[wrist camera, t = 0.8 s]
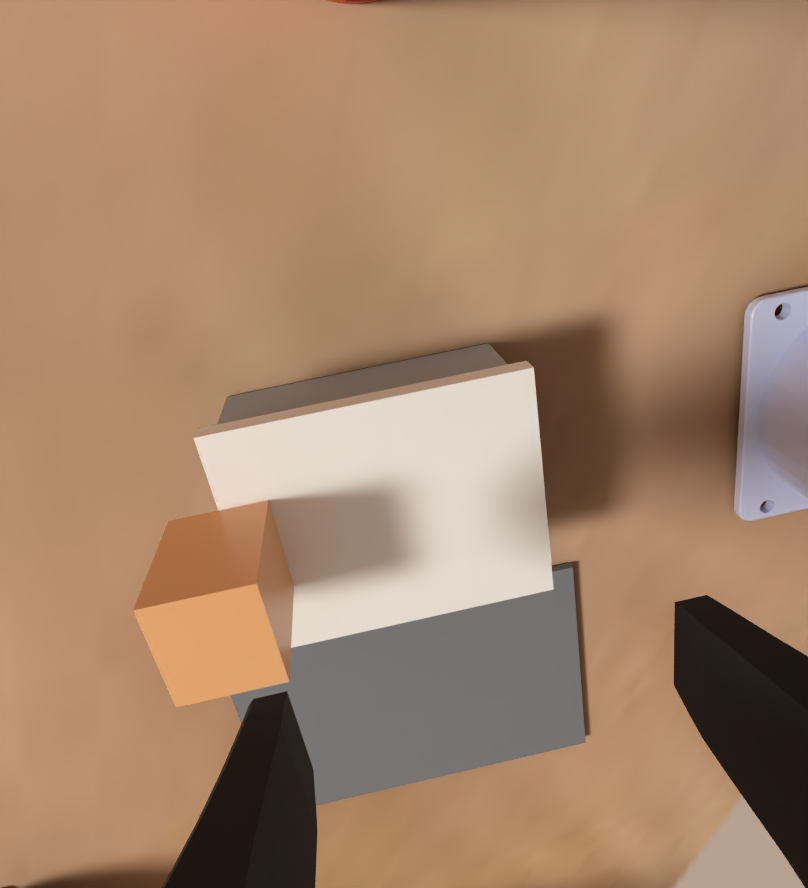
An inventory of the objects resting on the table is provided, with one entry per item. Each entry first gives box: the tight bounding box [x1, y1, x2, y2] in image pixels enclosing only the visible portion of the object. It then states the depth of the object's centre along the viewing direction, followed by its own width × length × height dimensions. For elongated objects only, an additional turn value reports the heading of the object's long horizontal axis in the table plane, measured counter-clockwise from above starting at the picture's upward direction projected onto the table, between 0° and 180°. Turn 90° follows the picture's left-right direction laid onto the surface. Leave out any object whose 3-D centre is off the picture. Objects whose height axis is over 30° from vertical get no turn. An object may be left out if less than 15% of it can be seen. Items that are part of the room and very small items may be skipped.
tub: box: [217, 343, 508, 425], centre depth 19 cm, size 8×6×3 cm
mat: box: [231, 563, 586, 805], centre depth 25 cm, size 13×9×1 cm
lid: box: [133, 361, 554, 707], centre depth 16 cm, size 10×7×5 cm
